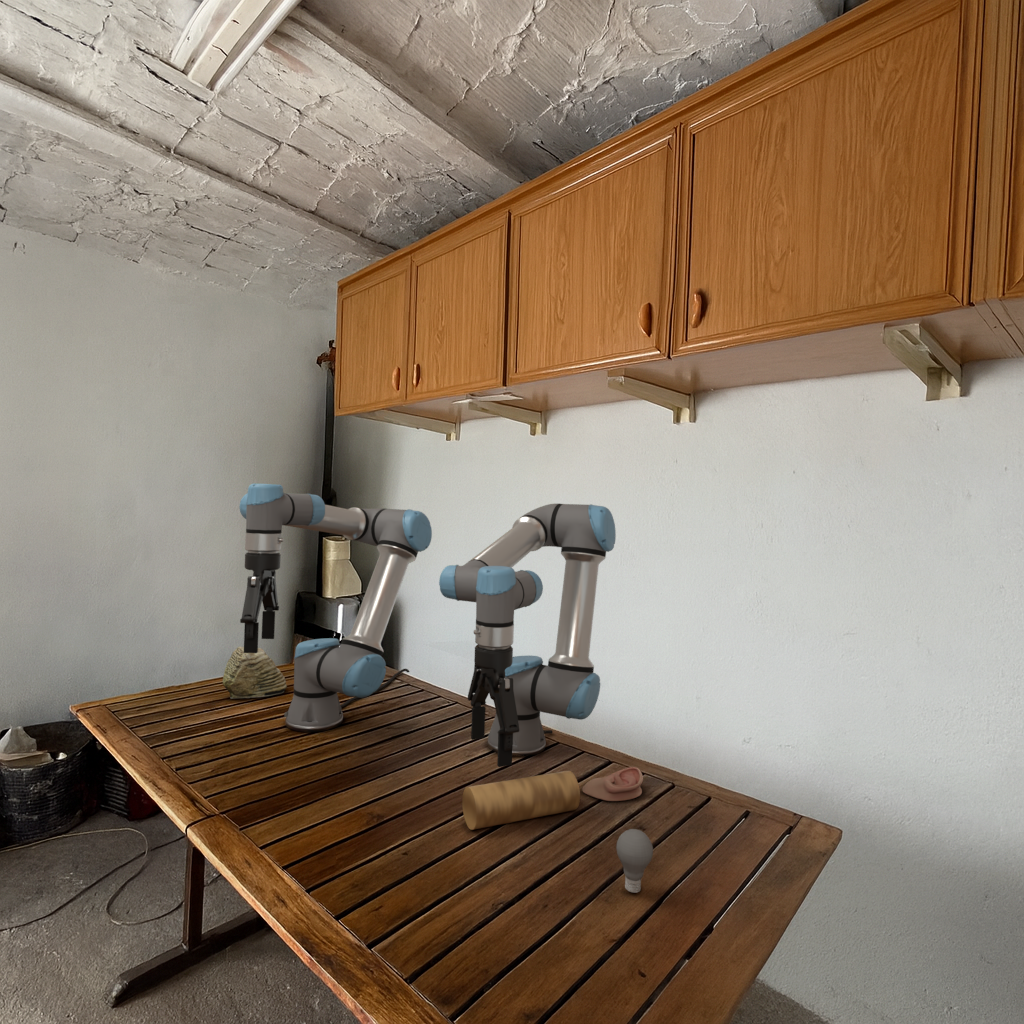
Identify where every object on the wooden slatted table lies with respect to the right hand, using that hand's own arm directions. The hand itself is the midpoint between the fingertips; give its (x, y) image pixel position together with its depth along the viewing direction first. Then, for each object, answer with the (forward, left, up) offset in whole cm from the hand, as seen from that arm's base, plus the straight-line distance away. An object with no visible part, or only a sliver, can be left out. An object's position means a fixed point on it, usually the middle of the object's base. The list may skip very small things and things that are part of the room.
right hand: (490, 751), depth 126 cm
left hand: (+39, -41, +15) cm, 58 cm away
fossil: (+34, -99, -14) cm, 106 cm away
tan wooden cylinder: (-7, +1, -14) cm, 16 cm away
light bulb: (-13, +29, -14) cm, 35 cm away
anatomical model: (-32, -2, -14) cm, 35 cm away
